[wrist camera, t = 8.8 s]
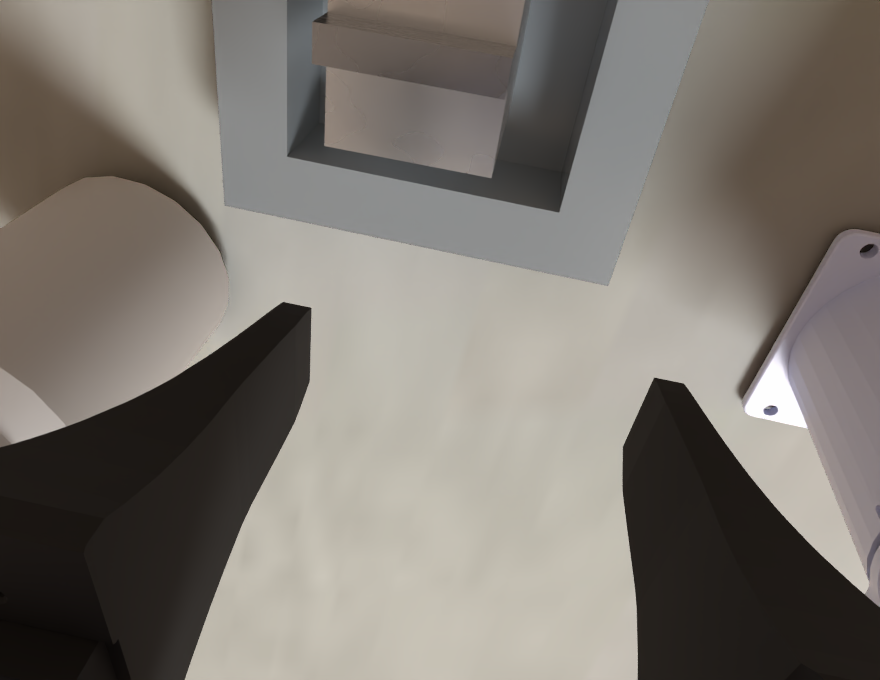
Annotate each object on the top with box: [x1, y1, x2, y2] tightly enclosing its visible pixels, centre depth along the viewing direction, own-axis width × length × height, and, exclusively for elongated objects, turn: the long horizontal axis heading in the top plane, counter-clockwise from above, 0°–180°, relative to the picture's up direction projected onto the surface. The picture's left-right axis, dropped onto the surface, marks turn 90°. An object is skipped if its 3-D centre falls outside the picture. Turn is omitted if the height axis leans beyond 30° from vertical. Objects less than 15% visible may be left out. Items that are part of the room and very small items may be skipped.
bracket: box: [312, 0, 531, 178], centre depth 16 cm, size 4×5×7 cm
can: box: [0, 176, 229, 447], centre depth 22 cm, size 8×8×12 cm
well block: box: [212, 0, 709, 286], centre depth 18 cm, size 12×12×4 cm
